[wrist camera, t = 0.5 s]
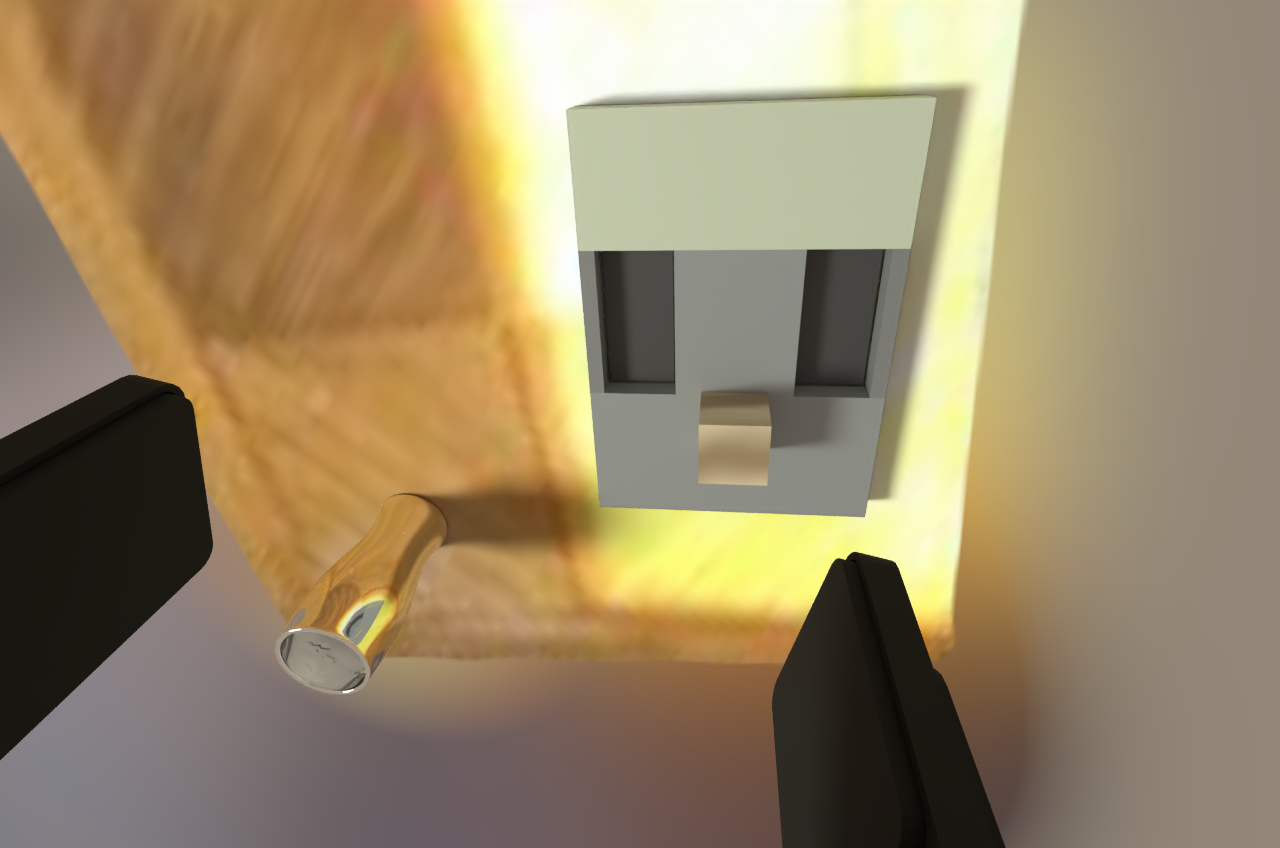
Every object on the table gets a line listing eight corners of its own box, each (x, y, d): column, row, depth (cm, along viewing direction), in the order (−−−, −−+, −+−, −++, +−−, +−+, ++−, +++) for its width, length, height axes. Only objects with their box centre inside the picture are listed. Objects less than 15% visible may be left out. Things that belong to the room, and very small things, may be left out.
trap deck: (573, 106, 38) (566, 109, 37) (926, 95, 36) (936, 97, 34) (604, 491, 53) (600, 506, 51) (860, 500, 50) (864, 517, 49)
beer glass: (441, 563, 59) (362, 709, 46) (367, 534, 58) (265, 674, 45) (462, 509, 55) (382, 651, 42) (383, 477, 54) (277, 611, 42)
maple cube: (701, 391, 45) (698, 424, 41) (767, 392, 44) (771, 426, 40) (700, 447, 47) (698, 483, 43) (763, 448, 47) (767, 485, 43)
